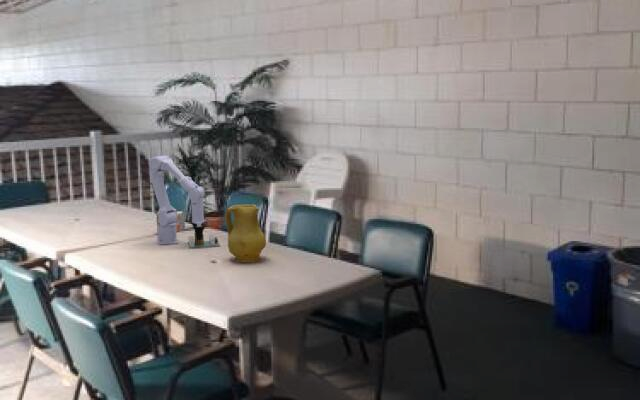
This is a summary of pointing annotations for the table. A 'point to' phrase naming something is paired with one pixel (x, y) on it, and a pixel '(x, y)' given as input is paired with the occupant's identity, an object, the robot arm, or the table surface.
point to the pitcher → (244, 233)
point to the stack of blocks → (179, 223)
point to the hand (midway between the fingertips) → (198, 238)
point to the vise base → (206, 244)
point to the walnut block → (199, 242)
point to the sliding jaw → (212, 239)
